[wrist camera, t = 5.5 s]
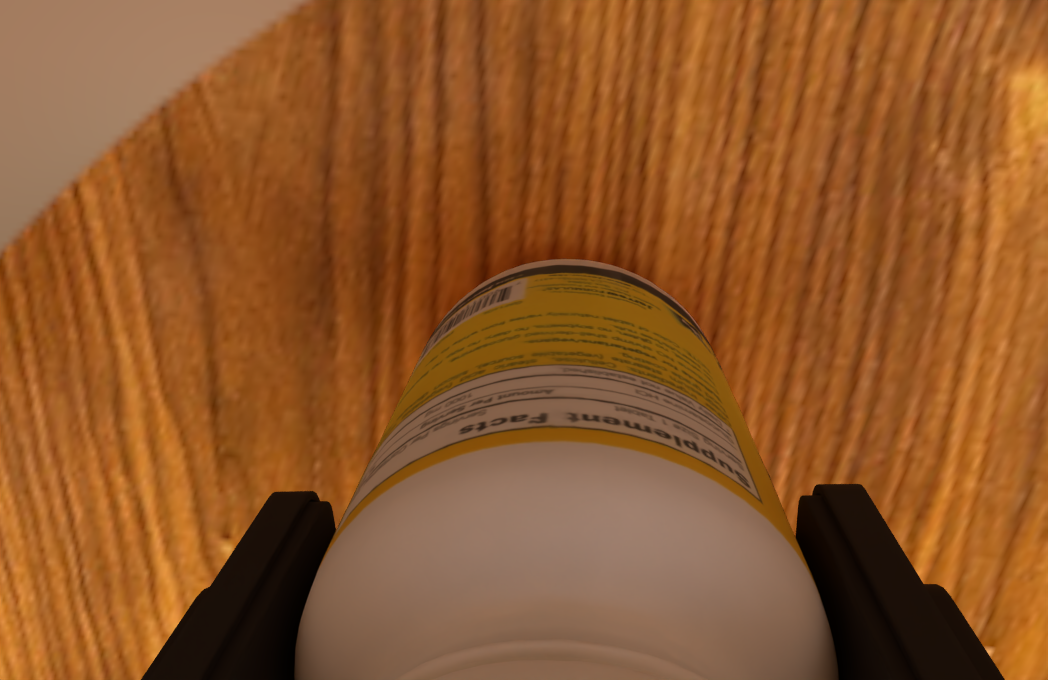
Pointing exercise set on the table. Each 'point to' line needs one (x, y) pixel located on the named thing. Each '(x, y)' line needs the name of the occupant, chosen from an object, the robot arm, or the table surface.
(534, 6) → the table surface
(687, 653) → the pill bottle
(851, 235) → the table surface
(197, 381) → the table surface
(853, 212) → the table surface
